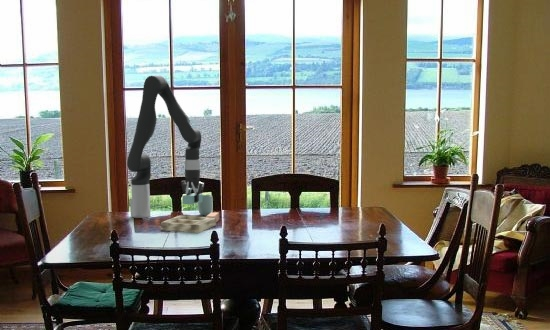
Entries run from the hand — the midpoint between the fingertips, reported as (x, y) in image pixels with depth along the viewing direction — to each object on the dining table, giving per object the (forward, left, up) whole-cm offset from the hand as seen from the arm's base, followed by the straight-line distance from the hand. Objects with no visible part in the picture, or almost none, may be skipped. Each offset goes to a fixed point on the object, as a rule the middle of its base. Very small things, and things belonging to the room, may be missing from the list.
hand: (192, 201), depth 277 cm
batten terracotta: (+11, 0, -10) cm, 15 cm away
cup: (-1, +15, -10) cm, 18 cm away
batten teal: (0, 0, -1) cm, 1 cm away
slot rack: (+6, -15, -10) cm, 19 cm away
